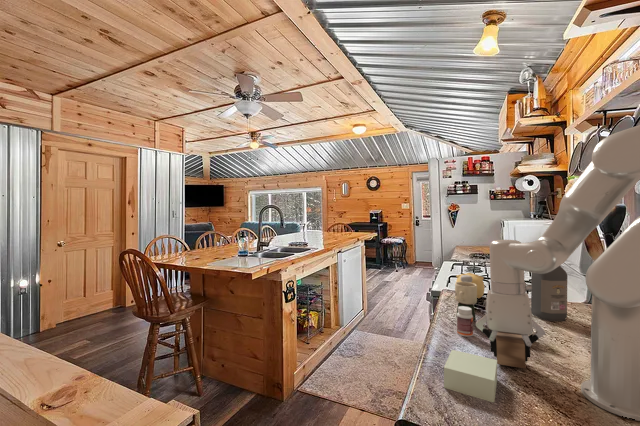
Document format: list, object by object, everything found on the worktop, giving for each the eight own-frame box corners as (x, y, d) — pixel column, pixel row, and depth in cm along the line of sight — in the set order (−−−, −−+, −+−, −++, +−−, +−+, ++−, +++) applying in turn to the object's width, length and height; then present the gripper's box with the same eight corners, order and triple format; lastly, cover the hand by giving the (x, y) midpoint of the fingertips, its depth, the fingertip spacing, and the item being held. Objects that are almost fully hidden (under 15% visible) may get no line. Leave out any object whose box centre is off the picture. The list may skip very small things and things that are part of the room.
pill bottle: (475, 337, 95) (475, 311, 95) (458, 336, 96) (458, 310, 96) (470, 331, 100) (470, 306, 100) (455, 330, 101) (455, 305, 100)
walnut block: (522, 357, 81) (521, 335, 81) (525, 368, 75) (524, 344, 75) (496, 353, 83) (495, 331, 83) (497, 364, 78) (496, 340, 78)
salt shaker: (475, 307, 123) (475, 275, 123) (473, 311, 118) (474, 278, 118) (459, 304, 126) (459, 273, 126) (457, 308, 121) (457, 276, 121)
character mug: (461, 313, 116) (461, 279, 116) (481, 318, 111) (481, 282, 111) (449, 321, 108) (449, 285, 108) (471, 327, 103) (471, 289, 103)
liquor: (571, 321, 107) (572, 236, 106) (544, 321, 107) (545, 236, 106) (552, 312, 116) (553, 233, 115) (527, 312, 116) (528, 233, 116)
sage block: (497, 380, 73) (497, 360, 72) (494, 404, 64) (494, 380, 64) (452, 368, 78) (451, 349, 78) (443, 388, 70) (443, 367, 70)
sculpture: (483, 294, 139) (483, 271, 139) (485, 302, 128) (485, 277, 128) (455, 292, 144) (455, 269, 143) (455, 299, 133) (455, 275, 132)
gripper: (545, 286, 79) (547, 356, 79) (470, 282, 86) (472, 345, 86) (551, 294, 72) (554, 370, 72) (470, 288, 80) (472, 357, 80)
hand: (509, 356), depth 79 cm, fingers closed on walnut block, 6 cm apart
